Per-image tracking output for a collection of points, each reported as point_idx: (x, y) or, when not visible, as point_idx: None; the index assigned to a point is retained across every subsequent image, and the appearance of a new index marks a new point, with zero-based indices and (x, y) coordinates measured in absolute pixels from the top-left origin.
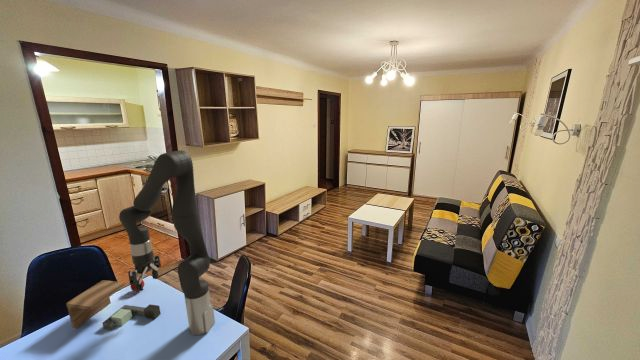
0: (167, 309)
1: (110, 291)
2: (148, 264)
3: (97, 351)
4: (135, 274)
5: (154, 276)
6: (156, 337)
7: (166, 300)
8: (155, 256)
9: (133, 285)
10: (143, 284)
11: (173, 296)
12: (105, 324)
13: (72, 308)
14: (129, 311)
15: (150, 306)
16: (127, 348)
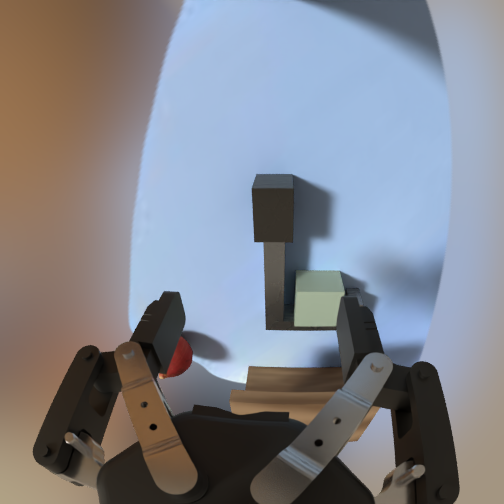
0: (224, 165)
1: (294, 407)
2: (197, 495)
3: (435, 259)
4: (434, 471)
5: (175, 322)
6: (380, 97)
7: (179, 212)
8: (61, 474)
9: (185, 363)
10: None
11: (150, 202)
12: None
13: None
14: (303, 291)
15: (266, 226)
16: (432, 174)
